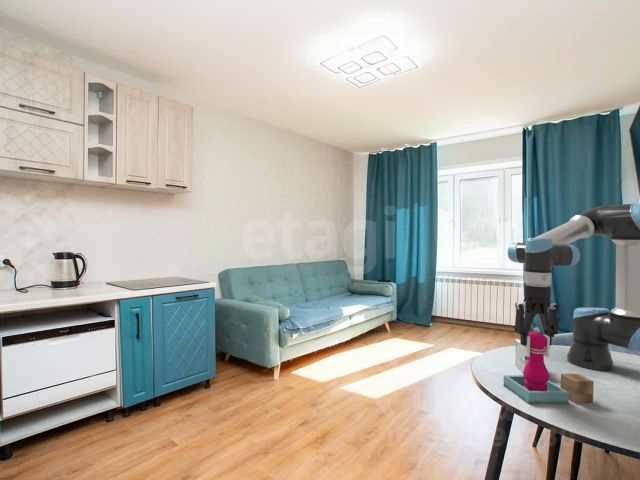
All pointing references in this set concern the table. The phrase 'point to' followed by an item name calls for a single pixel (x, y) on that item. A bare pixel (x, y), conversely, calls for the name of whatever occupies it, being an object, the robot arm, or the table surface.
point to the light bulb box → (520, 356)
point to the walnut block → (578, 388)
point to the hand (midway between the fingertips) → (535, 355)
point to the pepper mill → (536, 363)
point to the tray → (536, 397)
